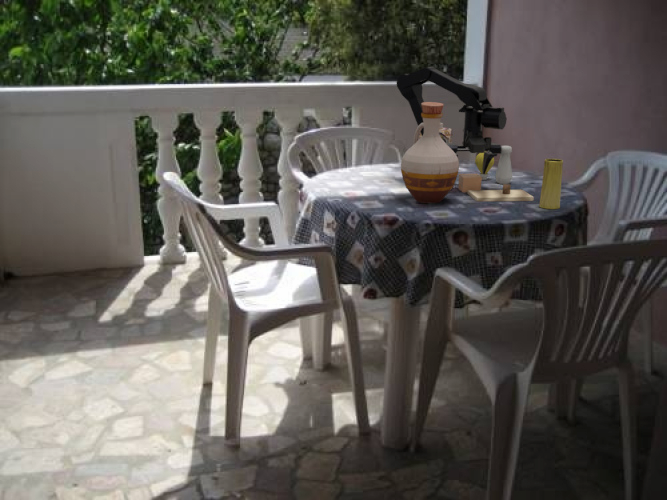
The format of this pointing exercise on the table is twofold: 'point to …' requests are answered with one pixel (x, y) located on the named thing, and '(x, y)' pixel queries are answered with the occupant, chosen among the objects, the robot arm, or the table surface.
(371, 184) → the table surface
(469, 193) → the base board
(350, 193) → the table surface
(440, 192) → the jug
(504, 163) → the salt shaker
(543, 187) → the vase
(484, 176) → the light bulb
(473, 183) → the orange block
